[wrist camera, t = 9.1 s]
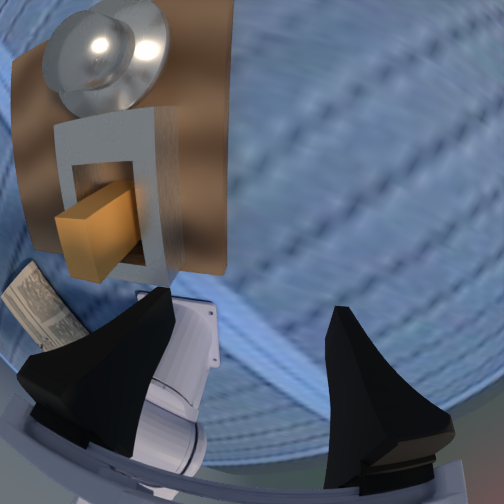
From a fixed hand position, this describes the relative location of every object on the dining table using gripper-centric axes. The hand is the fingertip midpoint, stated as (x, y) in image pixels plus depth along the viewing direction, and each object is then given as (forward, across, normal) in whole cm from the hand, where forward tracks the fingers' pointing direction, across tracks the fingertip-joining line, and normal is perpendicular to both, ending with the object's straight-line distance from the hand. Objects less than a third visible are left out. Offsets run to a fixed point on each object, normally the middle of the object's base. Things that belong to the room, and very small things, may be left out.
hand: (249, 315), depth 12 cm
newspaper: (+11, +27, +27) cm, 40 cm away
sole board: (+10, +14, -6) cm, 18 cm away
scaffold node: (+8, +10, -7) cm, 15 cm away
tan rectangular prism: (+8, +10, -1) cm, 13 cm away
